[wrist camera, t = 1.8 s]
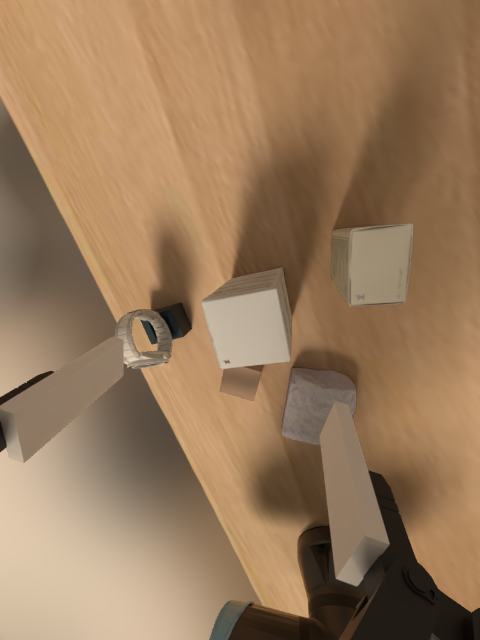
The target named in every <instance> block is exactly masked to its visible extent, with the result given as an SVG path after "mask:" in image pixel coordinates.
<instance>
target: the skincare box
mask: <svg viewBox="0 0 480 640" xmlns="http://www.w3.org/2000/svg"><path fill="white" fill-rule="evenodd" d="M412 240H413V224H412V223H408V224H394V225H380V226H364V227H353V228H344V229H335V230H333V231H332V251H331V279H332V281H333V283H334V284H335V286H336V287H337V289H338V290H339V292H340V293H341V295H342V296H343V298H344V299H345V301H346V302H347V304H348V306H375V305H393V304H403V303H405V302H406V297H407V291H408V283H409V274H410V263H411V252H412Z"/></svg>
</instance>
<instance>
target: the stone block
mask: <svg viewBox="0 0 480 640" xmlns="http://www.w3.org/2000/svg"><path fill="white" fill-rule="evenodd" d="M356 393H357V390H356V387H355V385H354V383H353V382H352V381H351V379H350V378H349V377H348V376H347V375H345V374H341V373H338V372H336V371H332V370H312V369H309V368H297V367H295V368H293V369H292V370H291V374H290V379H289V385H288V391H287V397H286V403H285V409H284V414H283V420H282V435H283V436H285V437H287V438H289V439H293V440H297V441H301V442H305V443H310V444H314V445H320V434H321V431H322V429H323V427H324V424H325V422H326V420H327V418H328V415H329V413H330V411H331V408H332V406H333V404H334V401H338V402H341V403H344V404H348V405H349V408H350V411H351V415H352V418H353V414H354V412H355V409H356V403H355V402H356Z"/></svg>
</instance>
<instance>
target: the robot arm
mask: <svg viewBox="0 0 480 640" xmlns="http://www.w3.org/2000/svg"><path fill="white" fill-rule="evenodd" d="M123 348H124V340H123V339H119V338H116V337H111V338H110V339H108V340H106V341H105V342H103V343H101V344H100V345H98V346H96V347H95V348H93V349H92V350H90V351H88V352H87V353H85V354H83V355H82V356H80V357H79V358H77V359H76V360H74V361H72V362H70V363H69V364H67V365H65V366H64V367H62V368H61V369H59V370H57V371H56V372H53V371H49V372H46V373H43V374H40V375H38V376H36V377H34V378H33V379H31V380H29V381H27V383H24V384H22V385H21V386H19V387H18V388H15V389H14V390H12V391H10V392H9V393H7V394H5V395H4V396H2V397H0V452H1V451H2V450H4V449H5V448H7V452H8V456H9V457H10V458H12V459H15V460H18V461H21V462H23V463H25V461H27V460H28V459H29V458H30V457H31V456H33V455H34V454H35V453H36V452H37V451H38V450H39V449H40V448H42V447H43V446H44V445H45V444H46V443H47V442H48V441H50V440H51V438H53V437H54V436H55V435H56V434H58V433H59V432H60V431H61V430H62V429H63V428H64V427H65V426H66V425H68V424H69V423H70V422H71V421H72V420H74V419H75V418H76V417H77V416H78V415H79V414H80V413H81V412H83V411H84V410H85V409H86V408H87V407H88V406H89V405H91V404H92V403H93V402H94V401H95V400H96V399H97V398H99V397H100V396H101V395H102V394H103V393H104V392H105V391H106V390H107V389H109V388H110V387H111V386H112V385H113V384H114V383H116V382H117V381H118V380H119V379H120V378H121V377H122V376H123ZM320 445H321V454H322V463H323V471H324V480H325V489H326V498H327V507H328V515H329V524H330V527H319V528H315V529H311V530H309V531H307V532H305V533H304V534H303V535H302V536H301V537H300V538H299V540H298V544H297V553H298V563H299V567H300V571H301V575H302V578H303V582H304V586H305V590H306V594H307V598H308V610H309V618H305V617H301V616H297V615H294V614H290V613H286V612H283V611H279V610H275V609H272V608H268V607H265V606H261V605H257V604H254V602H251V601H250V602H242V601H237V600H231V601H228V602H227V603H226V604H225V605H224V607H223V608H222V609H221V611H220V612H219V615H218V617H217V619H216V621H215V624H214V627H213V630H212V633H211V636H210V639H209V640H480V608H478V609H476V610H475V611H473V612H472V613H471V612H470V611H468V610H467V609H465V608H464V607H462V606H461V605H460V604H458V603H457V602H455V601H454V600H452V599H451V598H450V597H448V596H447V595H445V594H444V593H443V592H441V591H440V590H439V589H438V588H437V586H436V584H435V583H434V581H433V579H432V577H431V576H430V575H429V573H428V572H427V571H426V570H425V569H424V568H423V566H421V565H420V564H419V563H418V562H417V560H416V558H415V555H414V552H413V549H412V547H411V544H410V541H409V538H408V536H407V533H406V530H405V527H404V524H403V522H402V519H401V516H400V514H399V511H398V508H397V505H396V503H395V499H394V497H393V494H392V491H391V488H390V486H389V485H388V484H387V482H386V481H385V479H384V478H383V476H382V475H381V474H378V473H375V472H371V471H368V469H367V465H366V462H365V459H364V455H363V452H362V448H361V445H360V442H359V438H358V435H357V431H356V428H355V425H354V421H353V418H352V415H351V411H350V408H349V405H348V404H344V403H341V402H338V401H334V404H333V406H332V408H331V411H330V413H329V415H328V418H327V420H326V422H325V424H324V427H323V429H322V431H321V434H320Z"/></svg>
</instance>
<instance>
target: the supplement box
mask: <svg viewBox="0 0 480 640" xmlns="http://www.w3.org/2000/svg"><path fill="white" fill-rule="evenodd" d="M201 306H202V309H203V312H204V315H205V319H206V322H207V326H208V329H209V332H210V336H211V340H212V343H213V346H214V349H215V353H216V356H217V359H218V363H219V367H220V369H227V368H235V367H244V366H253V365H263V364H272V363H281V362H288V361H291V338H292V314H291V310H290V305H289V300H288V294H287V288H286V283H285V277H284V271H283V267H281V268H277V269H273V270H268V271H263V272H259V273H254V274H249V275H244V276H240V277H235V278H232V279H230V280H229V281H228V282H226V283H225V284H224V285H222V286H221V287H220V288H218V289H217V290H216V291H215V292H213V293H212V294H211V295H209V296H208V297H207V298H205V299H203V300H202V301H201Z"/></svg>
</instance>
